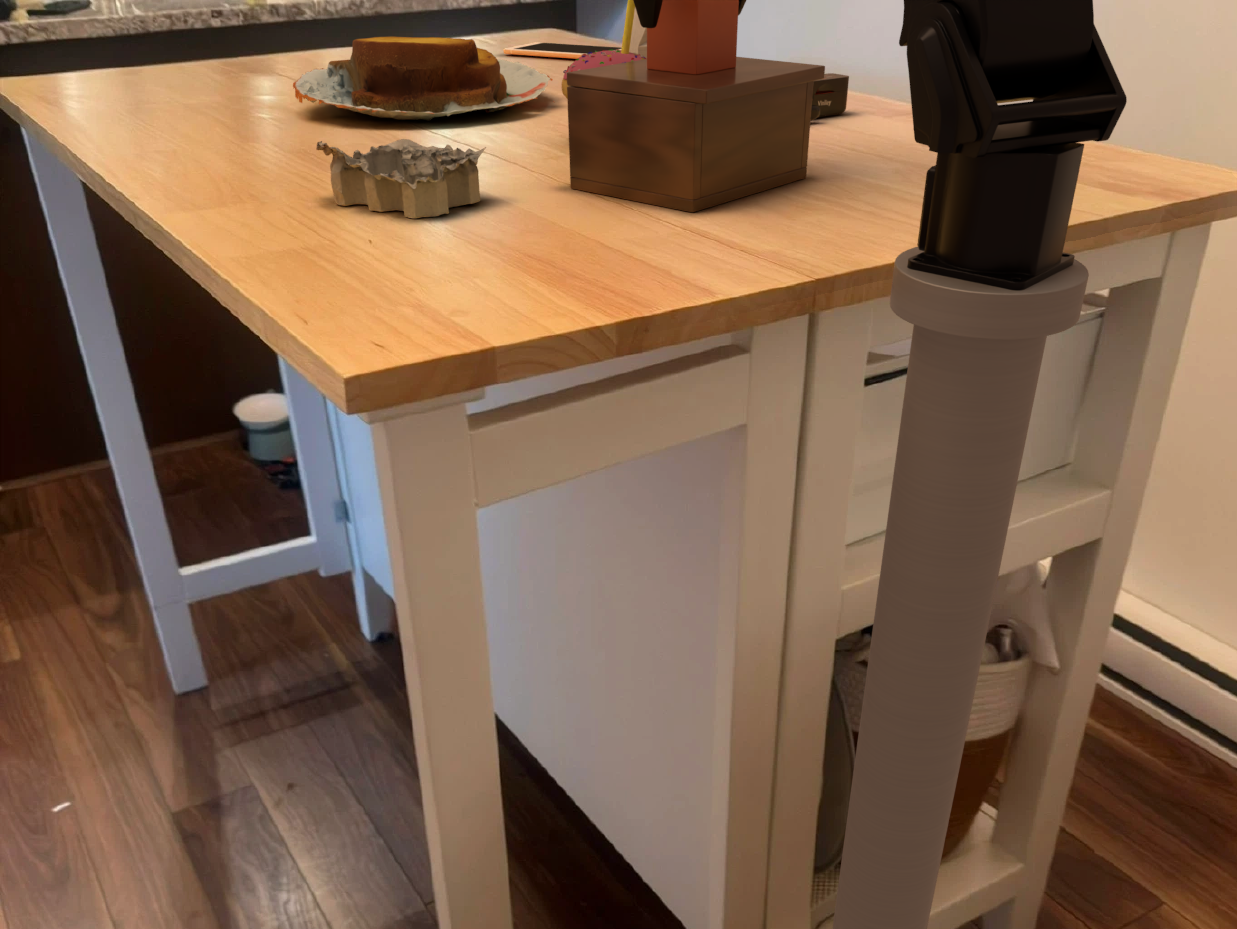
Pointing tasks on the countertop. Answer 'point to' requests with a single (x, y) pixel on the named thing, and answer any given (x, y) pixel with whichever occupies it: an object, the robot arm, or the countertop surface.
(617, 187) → the chest
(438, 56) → the food on plate
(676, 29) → the block
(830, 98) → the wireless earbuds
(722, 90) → the lid
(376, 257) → the countertop surface
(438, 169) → the egg carton
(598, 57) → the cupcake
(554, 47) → the cell phone
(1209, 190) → the countertop surface
